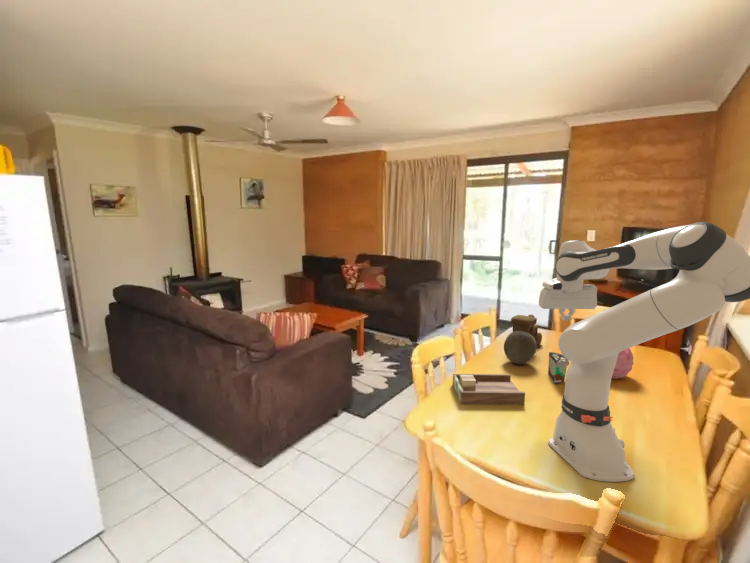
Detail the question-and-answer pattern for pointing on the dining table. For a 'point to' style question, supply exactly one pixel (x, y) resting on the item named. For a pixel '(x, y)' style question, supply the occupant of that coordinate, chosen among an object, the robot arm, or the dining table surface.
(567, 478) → the dining table surface
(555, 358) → the food container
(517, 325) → the wooden toy train
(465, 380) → the beech block
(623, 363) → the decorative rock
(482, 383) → the box
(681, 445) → the dining table surface
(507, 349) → the dark brown round ball
